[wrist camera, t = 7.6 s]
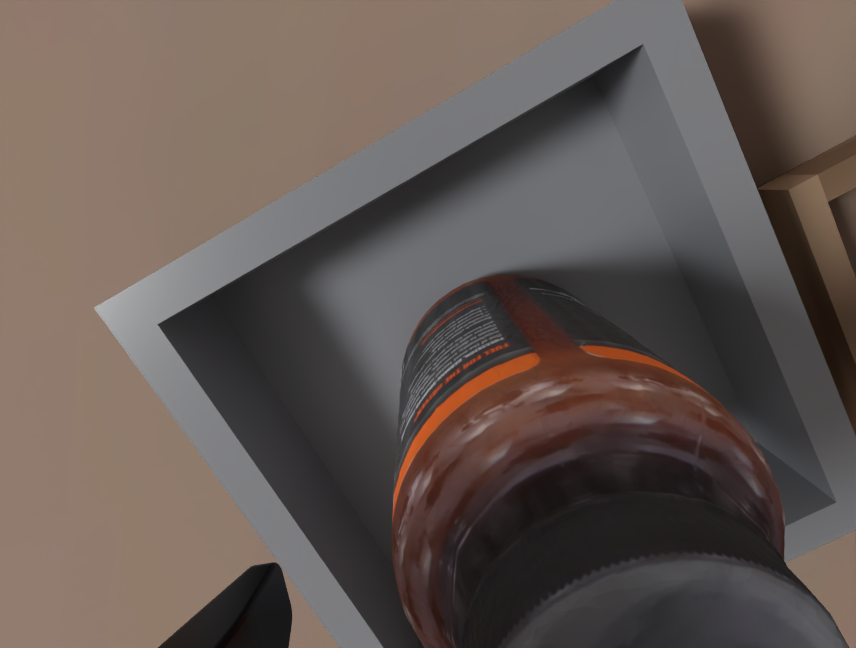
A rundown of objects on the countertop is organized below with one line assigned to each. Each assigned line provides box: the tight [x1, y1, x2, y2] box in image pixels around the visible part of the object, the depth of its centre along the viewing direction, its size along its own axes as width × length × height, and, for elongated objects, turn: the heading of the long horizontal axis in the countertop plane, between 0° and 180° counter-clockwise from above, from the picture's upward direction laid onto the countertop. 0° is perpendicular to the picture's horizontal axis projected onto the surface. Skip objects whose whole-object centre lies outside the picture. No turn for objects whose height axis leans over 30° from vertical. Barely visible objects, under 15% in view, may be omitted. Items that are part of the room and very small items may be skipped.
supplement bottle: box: [392, 275, 849, 648], centre depth 11 cm, size 6×6×11 cm
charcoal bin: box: [95, 0, 856, 648], centre depth 15 cm, size 14×14×4 cm
